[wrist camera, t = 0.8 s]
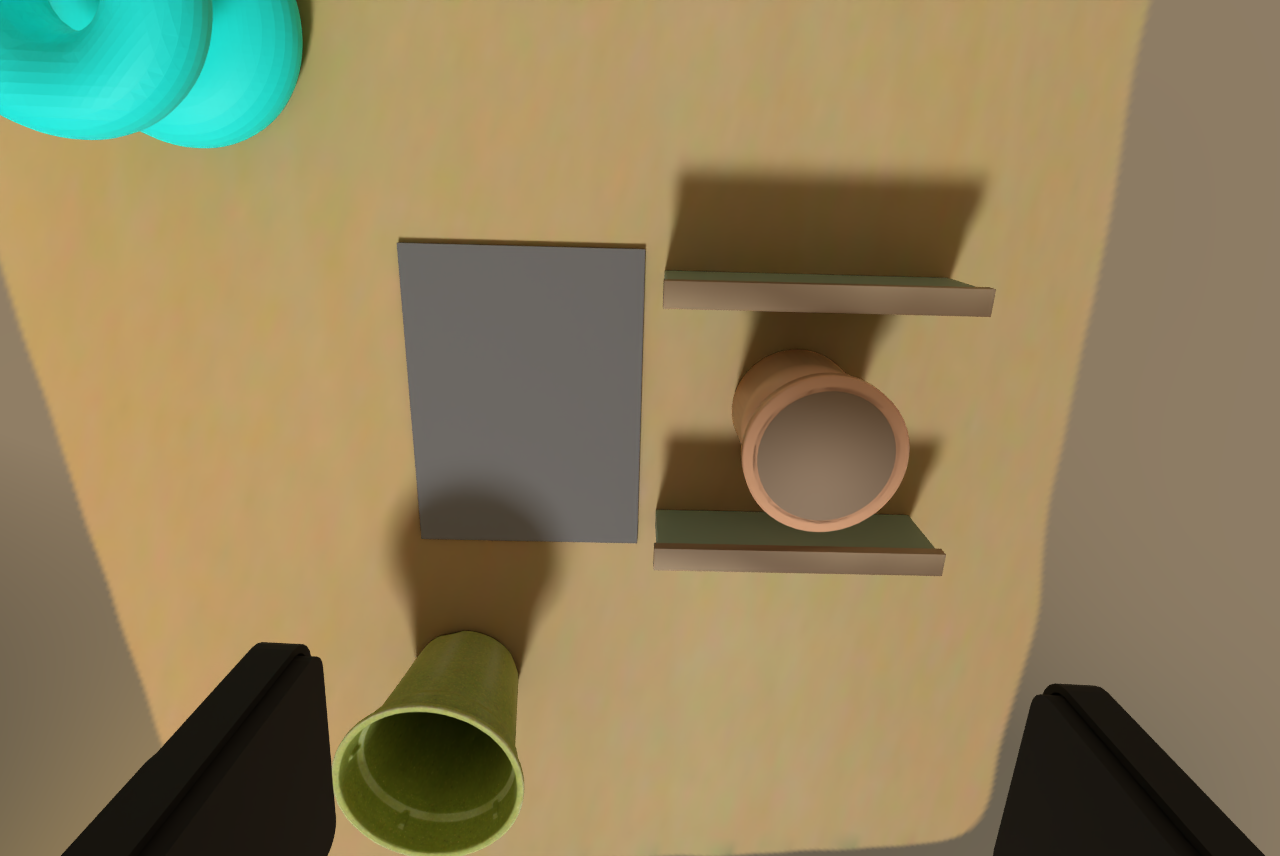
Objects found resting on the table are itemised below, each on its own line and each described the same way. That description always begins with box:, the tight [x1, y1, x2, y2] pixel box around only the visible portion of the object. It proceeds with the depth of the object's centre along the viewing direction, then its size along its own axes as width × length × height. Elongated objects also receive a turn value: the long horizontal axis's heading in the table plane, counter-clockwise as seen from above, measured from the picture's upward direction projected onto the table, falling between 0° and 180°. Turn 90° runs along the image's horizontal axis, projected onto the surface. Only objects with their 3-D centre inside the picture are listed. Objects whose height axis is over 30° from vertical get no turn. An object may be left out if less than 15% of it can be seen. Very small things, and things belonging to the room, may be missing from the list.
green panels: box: [653, 270, 996, 576], centre depth 35 cm, size 14×14×5 cm
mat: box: [397, 243, 645, 543], centre depth 37 cm, size 16×12×1 cm
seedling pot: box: [732, 349, 910, 532], centre depth 34 cm, size 7×7×7 cm
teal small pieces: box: [0, 0, 303, 148], centre depth 27 cm, size 10×10×10 cm
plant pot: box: [332, 631, 524, 856], centre depth 39 cm, size 9×9×9 cm
